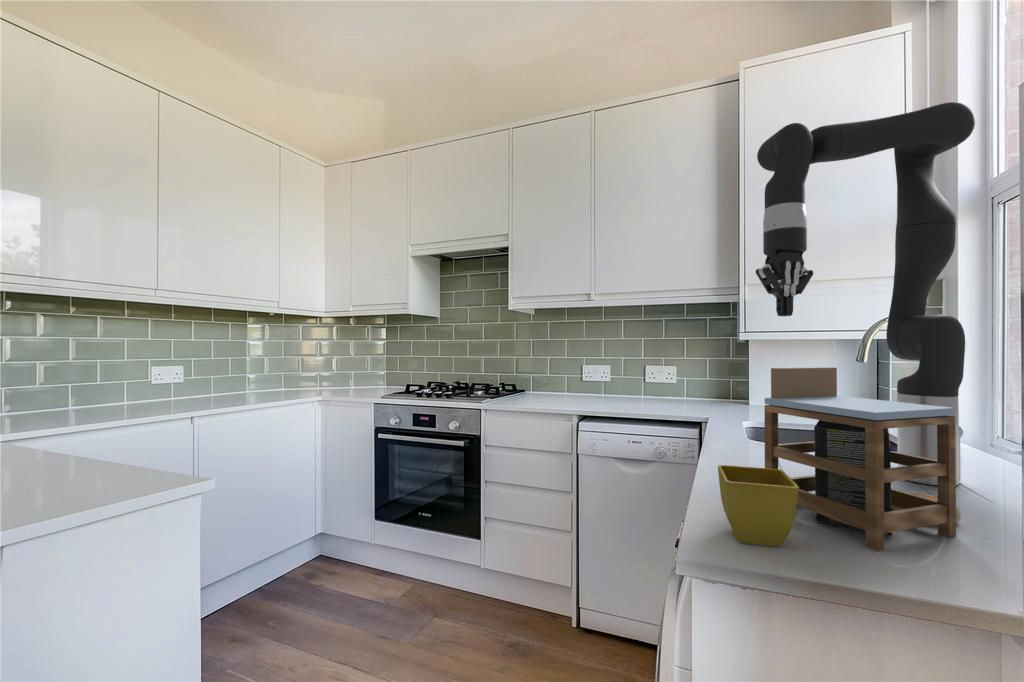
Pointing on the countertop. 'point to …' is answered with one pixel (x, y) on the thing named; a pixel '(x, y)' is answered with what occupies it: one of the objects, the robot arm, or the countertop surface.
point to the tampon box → (849, 449)
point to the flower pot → (758, 503)
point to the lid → (837, 397)
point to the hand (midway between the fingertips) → (784, 316)
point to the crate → (875, 475)
